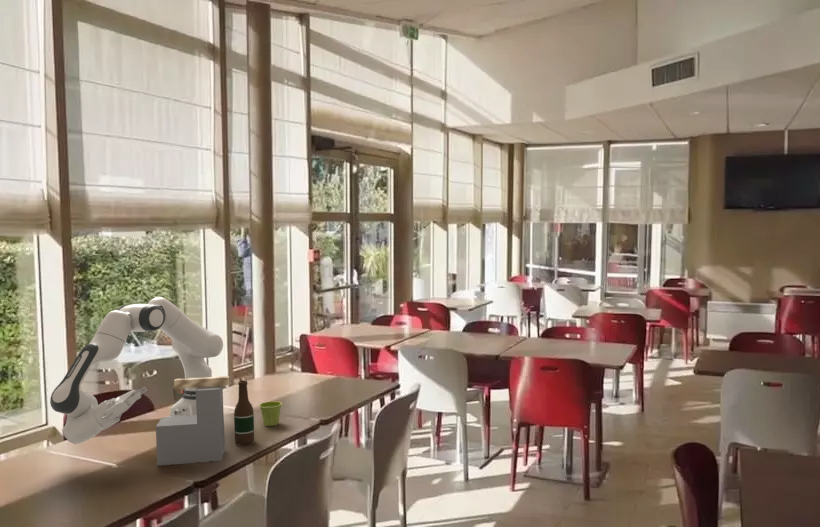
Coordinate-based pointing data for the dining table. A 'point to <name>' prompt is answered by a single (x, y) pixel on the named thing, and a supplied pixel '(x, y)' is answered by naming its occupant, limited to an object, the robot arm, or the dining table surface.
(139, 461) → the dining table surface
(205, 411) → the stand
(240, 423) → the beer bottle
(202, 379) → the stick
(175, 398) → the beverage carton
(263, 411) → the plant pot
